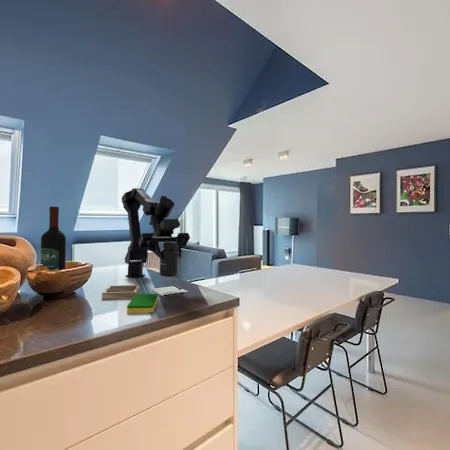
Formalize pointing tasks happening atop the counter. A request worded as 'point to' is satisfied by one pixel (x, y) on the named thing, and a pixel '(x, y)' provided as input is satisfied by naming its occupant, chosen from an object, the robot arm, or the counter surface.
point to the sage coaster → (167, 290)
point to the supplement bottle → (169, 260)
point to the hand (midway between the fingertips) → (171, 257)
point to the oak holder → (115, 293)
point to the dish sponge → (142, 303)
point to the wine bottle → (53, 244)
